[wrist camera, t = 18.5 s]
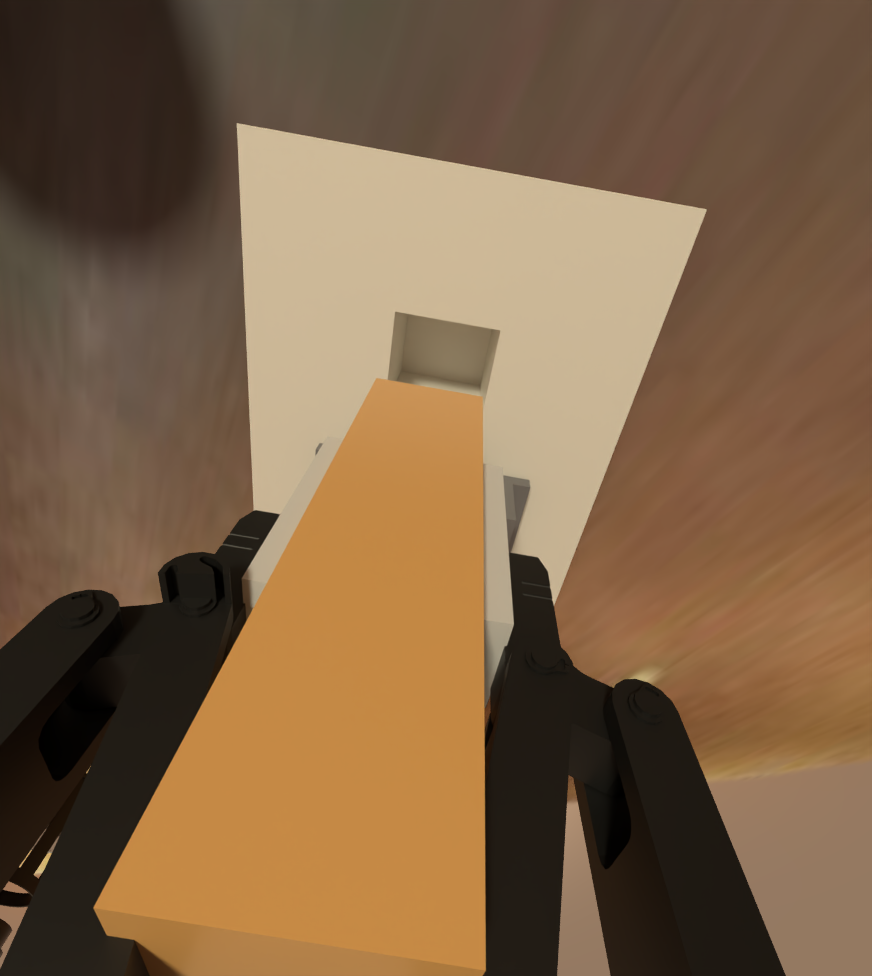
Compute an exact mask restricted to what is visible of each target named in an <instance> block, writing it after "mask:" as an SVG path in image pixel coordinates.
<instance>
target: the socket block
mask: <svg viewBox="0 0 872 976" xmlns="http://www.w3.org/2000/svg"><path fill="white" fill-rule="evenodd" d="M237 136H238V159H239V182H240V205H241V228H242V251H243V274H244V296H245V319H246V342H247V365H248V388H249V411H250V434H251V457H252V480H253V502H254V510H258V511H264V512H270V513H276V514H281V512H282V511H283V509H284V507H285V506H286V504H287V503H288V501H289V499H290V498H291V496H292V494H293V493H294V491H295V489H296V488H297V486H298V484H299V483H300V481H301V479H302V478H303V476H304V474H305V473H306V471H307V469H308V468H309V466H310V464H311V463H312V461H313V459H314V458H315V453H316V448H317V446H318V445H319V443H324V441H325V439H326V438H327V436H328V437H334V438H340V439H344V438H345V436H346V434H347V432H348V430H349V428H350V426H351V424H352V423H353V421H354V419H355V417H356V415H357V413H358V411H359V409H360V408H361V406H362V404H363V402H364V400H365V398H366V396H367V395H368V393H369V391H370V389H371V387H372V385H373V383H374V381H375V380H376V378H380V379H386V380H391V381H397V382H403V383H408V384H414V385H420V386H425V387H431V388H437V389H442V390H448V391H454V392H459V393H465V394H470V395H476V396H482V397H483V464H489V465H494V466H500V467H503V475H504V476H510V477H516V478H521V479H527V480H530V491H529V494H528V497H527V501H526V504H525V507H524V511H523V514H522V517H521V521H520V524H519V527H518V531H517V534H516V537H515V541H514V544H513V547H512V551H511V553H516V554H522V555H527V556H533V557H538V558H539V559H540V561H541V562H542V564H543V565H544V567H545V568H546V569H547V571H548V575H549V581H550V589H551V593H552V601H553V605H555V602H556V599H557V597H558V594H559V592H560V589H561V586H562V584H563V581H564V579H565V576H566V573H567V571H568V568H569V566H570V563H571V560H572V558H573V555H574V553H575V550H576V547H577V545H578V542H579V540H580V537H581V535H582V532H583V529H584V527H585V524H586V522H587V519H588V516H589V514H590V511H591V509H592V506H593V503H594V501H595V498H596V496H597V493H598V490H599V488H600V485H601V483H602V480H603V477H604V475H605V472H606V470H607V467H608V465H609V462H610V459H611V457H612V454H613V452H614V449H615V446H616V444H617V441H618V439H619V436H620V433H621V431H622V428H623V426H624V423H625V420H626V418H627V415H628V413H629V410H630V408H631V405H632V402H633V400H634V397H635V395H636V392H637V389H638V387H639V384H640V382H641V379H642V376H643V374H644V371H645V369H646V366H647V363H648V361H649V358H650V356H651V353H652V350H653V348H654V345H655V343H656V340H657V338H658V335H659V332H660V330H661V327H662V325H663V322H664V319H665V317H666V314H667V312H668V309H669V306H670V304H671V301H672V299H673V296H674V293H675V291H676V288H677V286H678V283H679V280H680V278H681V275H682V273H683V270H684V268H685V265H686V262H687V260H688V257H689V255H690V252H691V249H692V247H693V244H694V242H695V239H696V236H697V234H698V231H699V229H700V226H701V223H702V221H703V218H704V216H705V213H706V210H707V209H701V208H696V207H691V206H685V205H680V204H674V203H669V202H663V201H658V200H652V199H647V198H642V197H636V196H631V195H625V194H620V193H614V192H609V191H603V190H598V189H592V188H587V187H582V186H576V185H571V184H565V183H560V182H554V181H549V180H543V179H538V178H533V177H527V176H522V175H516V174H511V173H505V172H500V171H494V170H489V169H483V168H478V167H473V166H467V165H462V164H456V163H451V162H445V161H440V160H434V159H429V158H424V157H418V156H413V155H407V154H402V153H396V152H391V151H385V150H380V149H375V148H369V147H364V146H358V145H353V144H347V143H342V142H336V141H331V140H325V139H320V138H315V137H309V136H304V135H298V134H293V133H287V132H282V131H276V130H271V129H266V128H260V127H255V126H249V125H244V124H238V123H237Z"/></svg>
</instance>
